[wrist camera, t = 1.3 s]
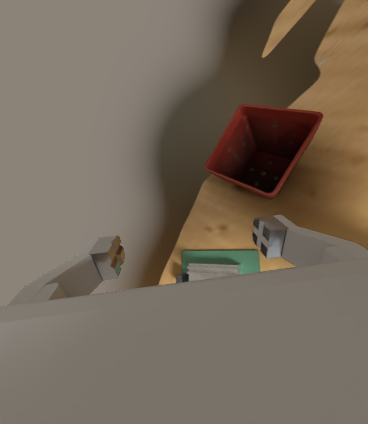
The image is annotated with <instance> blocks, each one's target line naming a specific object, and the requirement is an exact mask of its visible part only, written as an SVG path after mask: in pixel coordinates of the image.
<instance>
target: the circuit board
mask: <svg viewBox="0 0 368 424" xmlns="http://www.w3.org/2000/svg"><path fill="white" fill-rule="evenodd" d="M189 263H219V264H241V268H242V274H248V273H256V272H260V263H259V253H258V251H182V273H187V272H188V271H189V269H188V268H187V266H189Z"/></svg>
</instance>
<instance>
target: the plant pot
mask: <svg viewBox="0 0 368 424" xmlns="http://www.w3.org/2000/svg"><path fill="white" fill-rule="evenodd" d="M322 118H323V114H322V113H320V112H314V111H306V110H296V109H287V108H277V107H267V106H258V105H249V104H242V105H240V106H239V107H238V109H237V110H236V112H235V114H234V116H233V118H232V119H231V121H230V123H229V125H228V126H227V128H226V130H225V132H224V133H223V135H222V137H221V139H220V140H219V142H218V144H217V146H216V147H215V149H214V151H213V153H212V154H211V156H210V158H209V159H208V161H207V163H206V165H205V169H206V170H207V171H209V172H210V173H212V174H214V175H215V176H217V177H219V178H221V179H223V180H226V181H228V182H231V183H233V184H236V185H238V186H241V187H243V188H246V189H248V190H250V191H252V192H255V193H257V194H259V195H261V196H263V197H265V198H268V199H274V198H275V197H276V195H277V194H278V192H279V190H280V189H281V187H282V185H283V184H284V182H285V180H286V179H287V177H288V176H289V174H290V172H291V171H292V169H293V168H294V166H295V165H296V163H297V162H298V160H299V159H300V157H301V156H302V154H303V153H304V151H305V150H306V148H307V147H308V145H309V143H310V142H311V140H312V138H313V136H314V135H315V133H316V131H317V129H318V127H319V125H320V123H321V121H322ZM269 160H272V161H273V163H272V164H268V161H269ZM251 167H253V168H254V170H253V171H250V168H251ZM262 171H265V172H266V174H265V175H261V172H262ZM276 175H277V176H278V179H277V180H275V179H273V177H274V176H276ZM256 182H258V183H259V185H258V186H255V185H254V184H255V183H256Z"/></svg>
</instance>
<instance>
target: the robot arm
mask: <svg viewBox="0 0 368 424" xmlns="http://www.w3.org/2000/svg"><path fill="white" fill-rule="evenodd" d="M253 225H254V226H255V229H254V230H253V233H252V236H253V241H254V243H255V244H256V246H258V247H260V248H261V249H260V251H261V252H262V254H263V255H264V256H265V257H266V258H275V257H281V258H283V259H285V260H286V261H288V262H290V263H292V264H293V265H295V266H297V267H293V268H285V269H278V270H270V271H263V272H256V273H248V274H241V275H233V276H226V277H219V278H211V279H204V280H196V281H189V282H181V283H174V284H166V285H159V286H152V287H144V288H137V289H129V290H123V291H114V292H107V293H100V294H92V295H90V294H91V292H92V291H93V290H94V289H95V288H96V287H97V286H98V285H99V284H100V283H101V282H102V281H103V280H109V279H115V278H118V276H119V274H120V271H121V267H120V266H121V265H122V264H123V263H124V259H125V253H124V249H123V247H122V246H120V243H121V240H120V237H119V236H108V237H98V238H92V239H90V240H89V242H88V243H87V244H86V246H85V247H84V248H83V250H82V251H81V252H80V254H79V255H78V256H75V257H73V258H71V259H70V260H68V261H66V262H65V263H63V264H61V265H60V266H58V267H57V268H55V269H53V270H52V271H50V272H48V273H47V274H45V275H43V276H42V277H40V278H38V279H37V280H35V281H33V282H32V283H30V284H28V285H27V286H25V287H24V288H23V289H22V290H21V291H20V292H19V293H18V295H17V296H16V297H15V298H14V299H13V300H12V301H11V302H10V303H9V304H8V305H7V306H3V307H0V424H368V249H366V248H364V247H362V246H361V245H359V244H357V243H355V242H351V241H348V240H345V239H341V238H338V237H334V236H331V235H327V234H324V233H320V232H317V231H313V230H310V229H306V228H303V227H300V228H299V227H298V226H296V225H295V224H294V223H292V222H291V221H290V220H288V219H287V218H285V217H284V216H283V215H280V214H279V215H273V216H267V217H260V218H255V219H254V222H253Z"/></svg>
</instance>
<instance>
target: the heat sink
mask: <svg viewBox="0 0 368 424" xmlns="http://www.w3.org/2000/svg"><path fill="white" fill-rule="evenodd" d="M187 268H188V269H189V271H188V272H187V273H181V274H177V275H176V283H181V282H189V281H196V280H204V279H211V278H219V277H226V276H233V275H241V274H242V268H241V264H219V263H189V266H187Z"/></svg>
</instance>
